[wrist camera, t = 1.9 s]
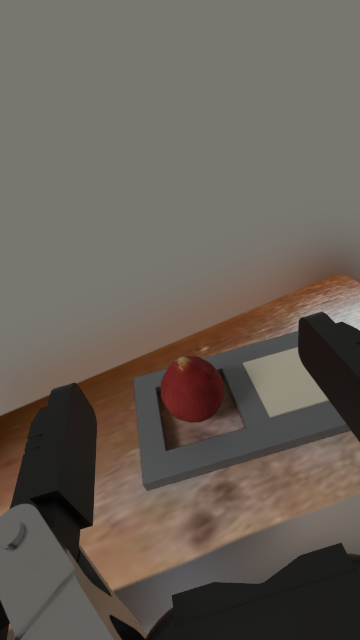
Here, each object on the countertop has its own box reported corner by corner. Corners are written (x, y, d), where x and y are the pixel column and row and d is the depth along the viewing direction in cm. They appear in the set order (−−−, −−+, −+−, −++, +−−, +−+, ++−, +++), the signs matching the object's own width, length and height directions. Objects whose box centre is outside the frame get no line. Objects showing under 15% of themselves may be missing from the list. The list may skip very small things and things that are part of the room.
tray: (146, 490, 26) (142, 483, 25) (136, 384, 35) (133, 376, 34) (371, 424, 26) (374, 414, 25) (301, 337, 36) (301, 328, 35)
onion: (195, 381, 34) (182, 326, 29) (239, 406, 30) (231, 348, 25) (159, 418, 31) (136, 364, 26) (202, 451, 27) (185, 395, 23)
